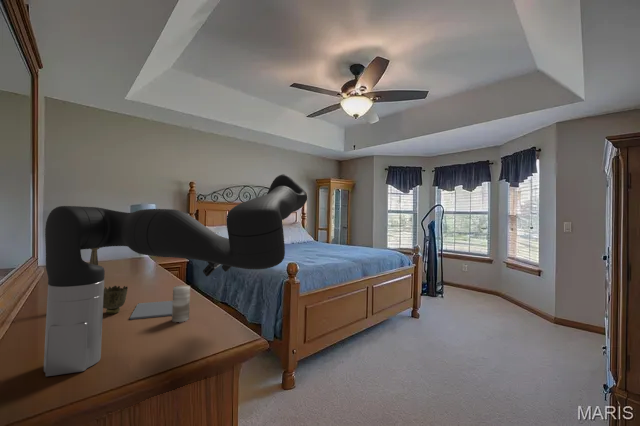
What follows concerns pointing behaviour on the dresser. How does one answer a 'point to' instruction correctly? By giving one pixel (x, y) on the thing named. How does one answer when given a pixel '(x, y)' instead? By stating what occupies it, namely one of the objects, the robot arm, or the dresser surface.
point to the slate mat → (152, 310)
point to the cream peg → (181, 303)
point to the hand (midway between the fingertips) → (215, 271)
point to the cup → (114, 298)
